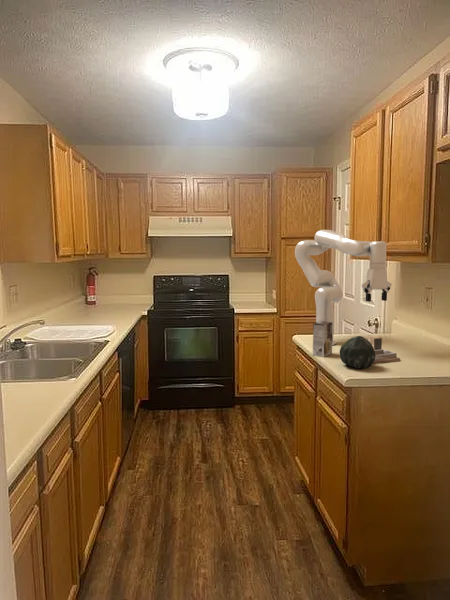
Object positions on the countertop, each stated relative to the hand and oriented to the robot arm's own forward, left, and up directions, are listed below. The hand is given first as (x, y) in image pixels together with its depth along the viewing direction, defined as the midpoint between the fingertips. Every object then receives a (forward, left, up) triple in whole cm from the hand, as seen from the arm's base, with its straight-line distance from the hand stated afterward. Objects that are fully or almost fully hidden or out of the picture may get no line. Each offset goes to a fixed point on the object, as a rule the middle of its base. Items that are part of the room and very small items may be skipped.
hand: (376, 300), depth 212 cm
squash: (+19, -25, -26) cm, 41 cm away
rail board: (+12, -9, -26) cm, 30 cm away
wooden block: (0, 0, -26) cm, 26 cm away
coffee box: (-6, -27, -26) cm, 38 cm away
